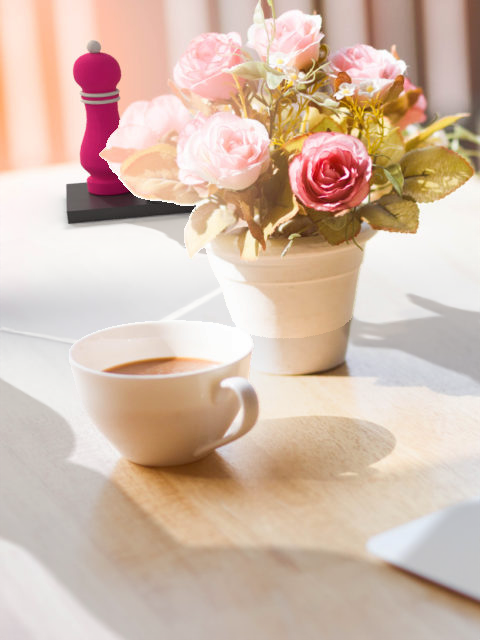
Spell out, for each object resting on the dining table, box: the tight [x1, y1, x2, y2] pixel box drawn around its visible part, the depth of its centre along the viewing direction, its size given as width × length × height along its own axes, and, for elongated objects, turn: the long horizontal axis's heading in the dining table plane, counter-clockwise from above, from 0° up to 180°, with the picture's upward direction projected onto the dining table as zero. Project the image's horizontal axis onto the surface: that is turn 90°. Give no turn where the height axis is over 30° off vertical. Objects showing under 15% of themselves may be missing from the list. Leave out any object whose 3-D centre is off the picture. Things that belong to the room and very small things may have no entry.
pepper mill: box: [72, 39, 130, 195], centre depth 157 cm, size 7×7×20 cm
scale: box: [65, 181, 196, 225], centre depth 160 cm, size 16×14×4 cm
